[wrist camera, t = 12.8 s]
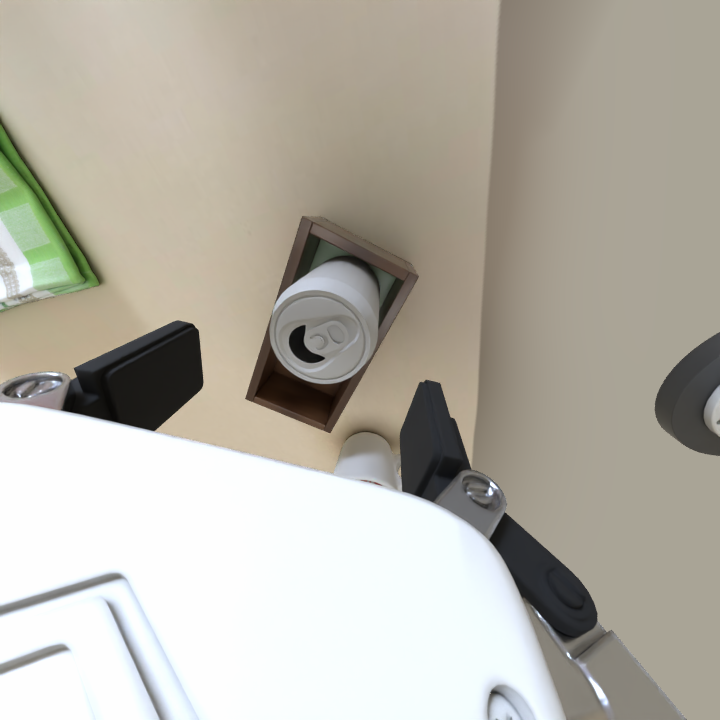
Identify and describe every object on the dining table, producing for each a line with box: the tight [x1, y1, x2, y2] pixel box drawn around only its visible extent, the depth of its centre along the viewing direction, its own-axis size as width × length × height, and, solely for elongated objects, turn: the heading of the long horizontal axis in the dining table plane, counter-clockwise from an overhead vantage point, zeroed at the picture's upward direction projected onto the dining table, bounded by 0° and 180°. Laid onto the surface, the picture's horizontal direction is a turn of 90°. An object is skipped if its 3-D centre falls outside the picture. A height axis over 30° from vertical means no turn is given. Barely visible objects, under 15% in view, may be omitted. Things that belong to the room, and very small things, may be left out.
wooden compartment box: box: [245, 216, 419, 433], centre depth 25 cm, size 9×18×6 cm, turn 155°
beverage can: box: [270, 256, 380, 384], centre depth 20 cm, size 6×6×12 cm
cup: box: [333, 432, 402, 491], centre depth 32 cm, size 11×8×8 cm
